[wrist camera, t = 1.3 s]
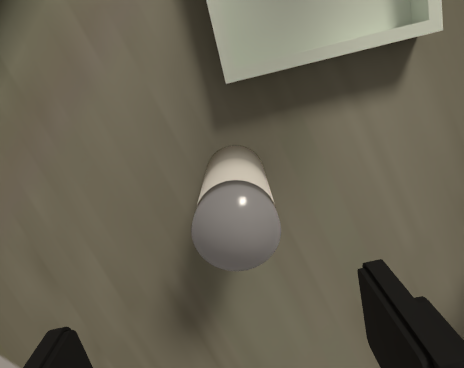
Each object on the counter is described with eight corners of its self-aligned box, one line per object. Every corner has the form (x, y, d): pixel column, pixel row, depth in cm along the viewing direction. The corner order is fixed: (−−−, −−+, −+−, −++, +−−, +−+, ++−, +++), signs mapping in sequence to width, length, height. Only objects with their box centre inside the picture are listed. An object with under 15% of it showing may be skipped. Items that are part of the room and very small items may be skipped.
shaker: (257, 139, 27) (271, 180, 17) (268, 193, 29) (288, 261, 18) (199, 152, 27) (180, 201, 17) (214, 205, 29) (204, 278, 19)
